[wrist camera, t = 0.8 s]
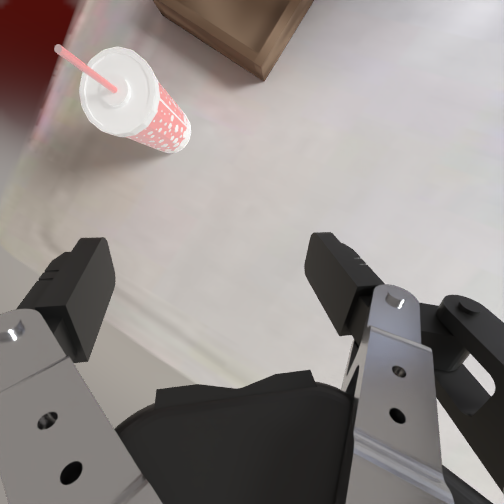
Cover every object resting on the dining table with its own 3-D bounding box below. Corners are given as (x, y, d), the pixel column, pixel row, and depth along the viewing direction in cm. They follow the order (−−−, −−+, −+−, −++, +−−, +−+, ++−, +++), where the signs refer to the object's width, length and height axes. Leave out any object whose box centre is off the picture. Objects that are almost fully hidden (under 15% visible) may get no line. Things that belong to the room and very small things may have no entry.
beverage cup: (144, 99, 29) (9, -11, 15) (200, 101, 28) (109, -15, 14) (142, 159, 30) (11, 105, 16) (196, 162, 29) (107, 108, 15)
